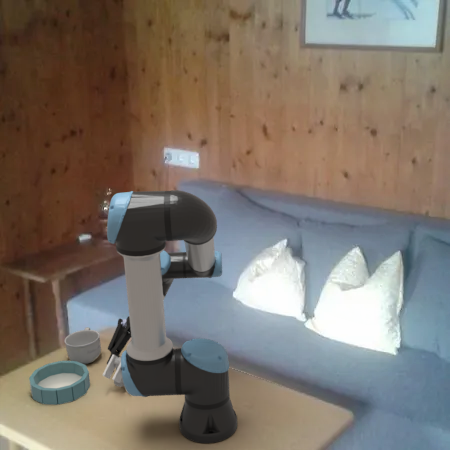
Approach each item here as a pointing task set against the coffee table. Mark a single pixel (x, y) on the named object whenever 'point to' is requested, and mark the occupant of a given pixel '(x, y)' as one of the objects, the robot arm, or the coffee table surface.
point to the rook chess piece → (117, 362)
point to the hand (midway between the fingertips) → (110, 379)
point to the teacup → (83, 346)
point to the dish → (59, 382)
